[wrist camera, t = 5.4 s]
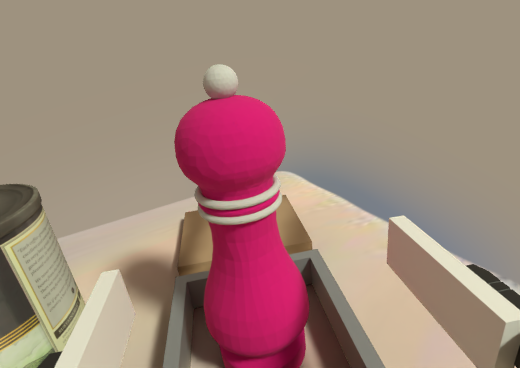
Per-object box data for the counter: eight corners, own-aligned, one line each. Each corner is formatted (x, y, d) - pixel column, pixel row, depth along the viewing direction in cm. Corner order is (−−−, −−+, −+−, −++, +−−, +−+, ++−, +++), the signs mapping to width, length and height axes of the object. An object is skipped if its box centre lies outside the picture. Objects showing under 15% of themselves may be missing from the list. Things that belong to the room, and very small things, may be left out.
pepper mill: (196, 353, 23) (117, 77, 16) (262, 297, 28) (226, 61, 20) (265, 422, 19) (200, 70, 11) (332, 341, 23) (320, 51, 15)
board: (180, 279, 32) (177, 267, 31) (187, 222, 43) (185, 212, 42) (312, 252, 33) (311, 240, 32) (286, 204, 44) (285, 194, 43)
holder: (165, 477, 17) (151, 445, 16) (183, 302, 29) (175, 276, 27) (392, 418, 18) (395, 384, 17) (318, 274, 30) (317, 248, 29)
